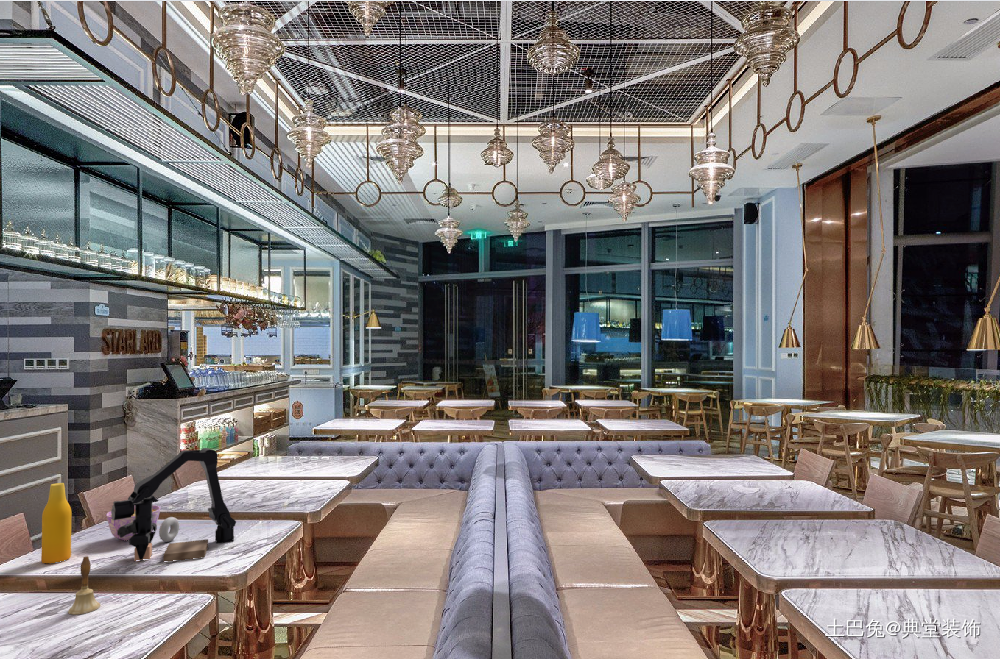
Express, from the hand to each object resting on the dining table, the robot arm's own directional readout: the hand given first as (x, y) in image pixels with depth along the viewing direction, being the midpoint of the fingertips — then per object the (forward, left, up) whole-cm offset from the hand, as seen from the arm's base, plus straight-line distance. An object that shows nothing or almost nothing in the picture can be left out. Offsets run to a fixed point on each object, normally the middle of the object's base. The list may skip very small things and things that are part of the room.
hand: (143, 555), depth 230 cm
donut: (-6, -20, -1) cm, 21 cm away
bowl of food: (+9, -31, -1) cm, 32 cm away
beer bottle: (+31, -11, -1) cm, 33 cm away
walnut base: (-15, +1, -1) cm, 15 cm away
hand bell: (+8, +45, -1) cm, 46 cm away
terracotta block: (0, 0, -1) cm, 1 cm away
